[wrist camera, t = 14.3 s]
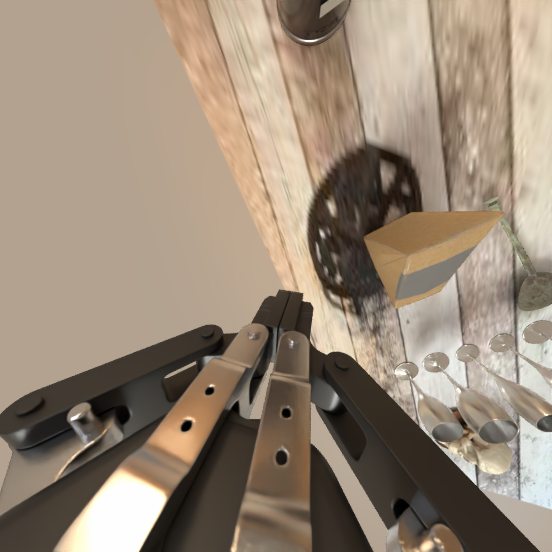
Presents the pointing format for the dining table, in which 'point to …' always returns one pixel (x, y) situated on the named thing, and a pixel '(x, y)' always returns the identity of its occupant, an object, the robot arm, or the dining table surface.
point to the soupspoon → (537, 285)
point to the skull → (479, 450)
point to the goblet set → (479, 407)
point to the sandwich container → (425, 250)
